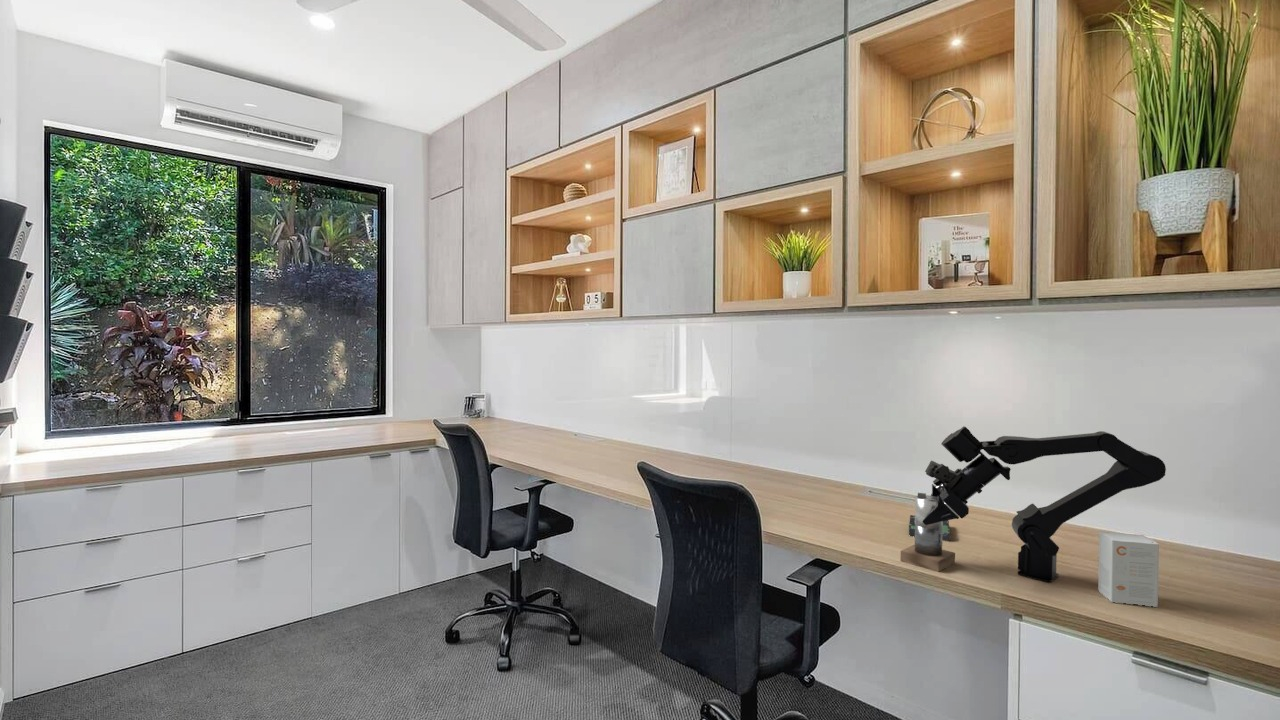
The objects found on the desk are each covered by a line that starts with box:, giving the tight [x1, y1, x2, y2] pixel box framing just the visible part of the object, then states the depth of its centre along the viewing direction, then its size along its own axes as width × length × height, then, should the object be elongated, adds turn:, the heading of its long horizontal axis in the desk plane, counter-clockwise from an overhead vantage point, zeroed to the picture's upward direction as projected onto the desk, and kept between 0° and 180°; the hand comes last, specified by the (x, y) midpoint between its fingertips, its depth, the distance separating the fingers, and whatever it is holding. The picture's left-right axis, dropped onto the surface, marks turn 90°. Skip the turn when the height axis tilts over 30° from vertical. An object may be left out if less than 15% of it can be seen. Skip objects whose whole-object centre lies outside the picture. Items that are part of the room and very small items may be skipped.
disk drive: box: [908, 514, 951, 542], centre depth 169 cm, size 10×3×15 cm
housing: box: [914, 492, 943, 556], centre depth 144 cm, size 6×6×14 cm
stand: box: [900, 544, 956, 573], centre depth 144 cm, size 9×9×2 cm
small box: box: [1097, 531, 1160, 608], centre depth 124 cm, size 8×6×13 cm
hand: (922, 518), depth 145 cm, fingers open, 9 cm apart
